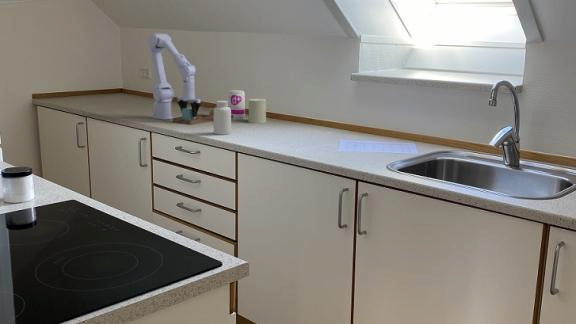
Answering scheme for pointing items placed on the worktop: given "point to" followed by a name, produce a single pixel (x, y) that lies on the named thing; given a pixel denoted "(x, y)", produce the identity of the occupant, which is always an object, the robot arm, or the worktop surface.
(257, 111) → the can
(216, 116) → the pill bottle
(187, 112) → the teal block
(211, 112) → the maple block
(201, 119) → the walnut frame
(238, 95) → the supplement can
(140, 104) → the worktop surface
